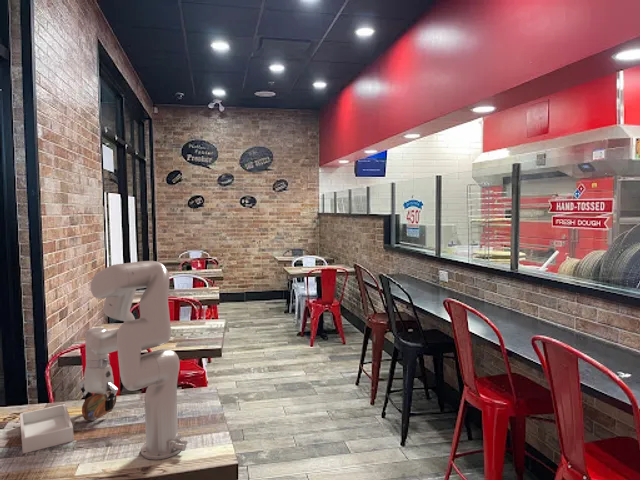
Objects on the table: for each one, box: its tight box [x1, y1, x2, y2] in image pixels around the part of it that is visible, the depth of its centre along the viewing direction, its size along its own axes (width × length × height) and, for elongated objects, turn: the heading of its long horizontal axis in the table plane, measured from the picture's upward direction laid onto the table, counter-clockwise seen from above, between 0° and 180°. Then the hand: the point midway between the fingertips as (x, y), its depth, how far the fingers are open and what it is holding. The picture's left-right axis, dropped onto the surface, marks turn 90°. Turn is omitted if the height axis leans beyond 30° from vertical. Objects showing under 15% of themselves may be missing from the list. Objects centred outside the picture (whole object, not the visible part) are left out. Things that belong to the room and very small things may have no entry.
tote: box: [19, 403, 75, 454], centre depth 157 cm, size 22×14×4 cm, turn 34°
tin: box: [81, 391, 117, 422], centre depth 171 cm, size 15×3×8 cm, turn 164°
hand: (99, 407), depth 171 cm, fingers open, 9 cm apart
